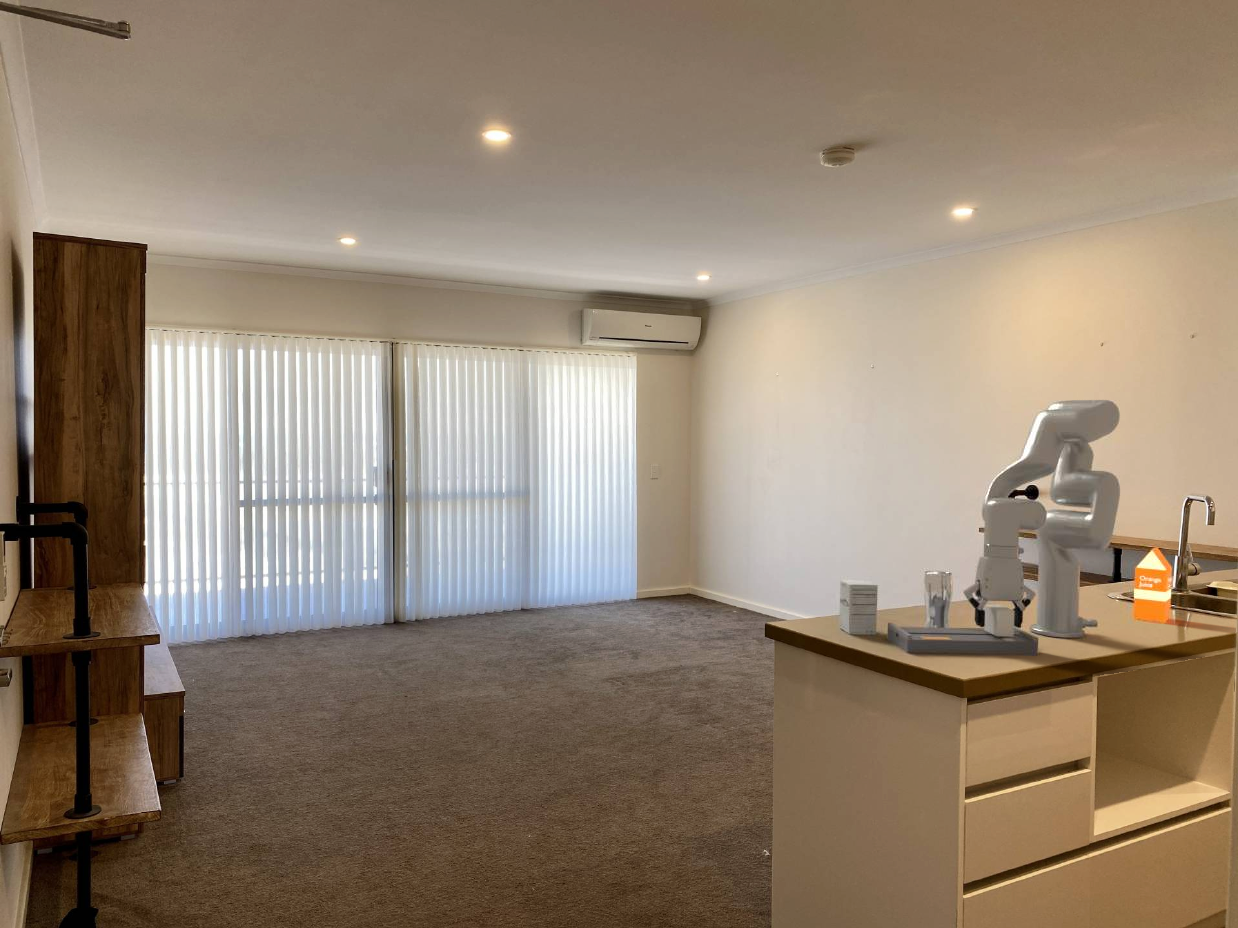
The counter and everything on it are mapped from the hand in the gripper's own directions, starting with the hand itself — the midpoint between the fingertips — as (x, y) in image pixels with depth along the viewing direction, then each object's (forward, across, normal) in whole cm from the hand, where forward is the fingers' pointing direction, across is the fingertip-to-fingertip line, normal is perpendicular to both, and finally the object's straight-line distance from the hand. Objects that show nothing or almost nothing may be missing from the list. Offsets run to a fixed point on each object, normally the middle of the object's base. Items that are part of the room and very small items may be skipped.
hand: (998, 625), depth 207 cm
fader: (+3, 0, 0) cm, 3 cm away
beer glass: (+5, +8, -17) cm, 19 cm away
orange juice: (+5, -61, -38) cm, 72 cm away
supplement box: (+5, +29, -15) cm, 33 cm away
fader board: (+5, +9, 0) cm, 10 cm away
